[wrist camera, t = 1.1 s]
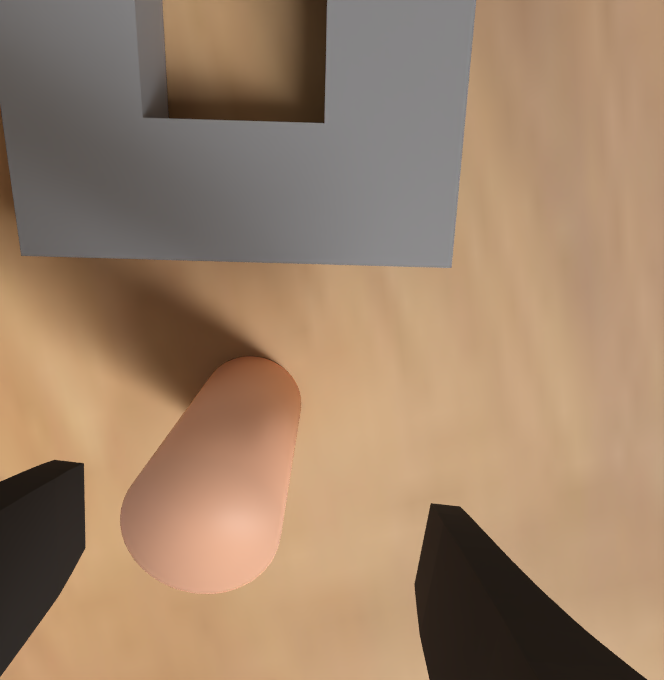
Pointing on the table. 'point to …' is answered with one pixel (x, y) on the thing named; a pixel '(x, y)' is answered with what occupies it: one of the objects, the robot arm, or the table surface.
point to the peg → (218, 482)
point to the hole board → (235, 141)
